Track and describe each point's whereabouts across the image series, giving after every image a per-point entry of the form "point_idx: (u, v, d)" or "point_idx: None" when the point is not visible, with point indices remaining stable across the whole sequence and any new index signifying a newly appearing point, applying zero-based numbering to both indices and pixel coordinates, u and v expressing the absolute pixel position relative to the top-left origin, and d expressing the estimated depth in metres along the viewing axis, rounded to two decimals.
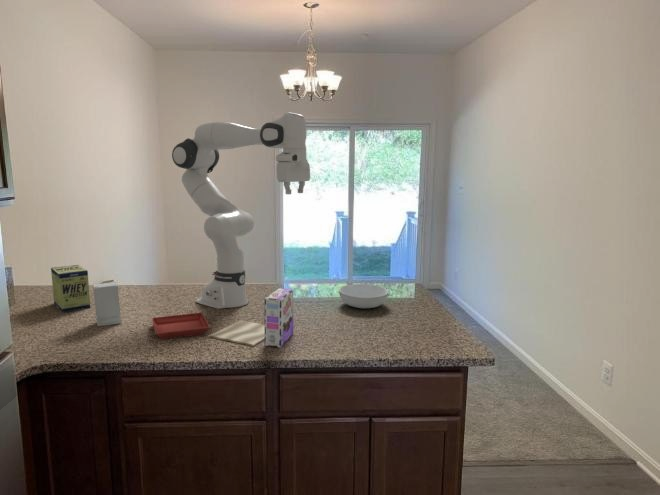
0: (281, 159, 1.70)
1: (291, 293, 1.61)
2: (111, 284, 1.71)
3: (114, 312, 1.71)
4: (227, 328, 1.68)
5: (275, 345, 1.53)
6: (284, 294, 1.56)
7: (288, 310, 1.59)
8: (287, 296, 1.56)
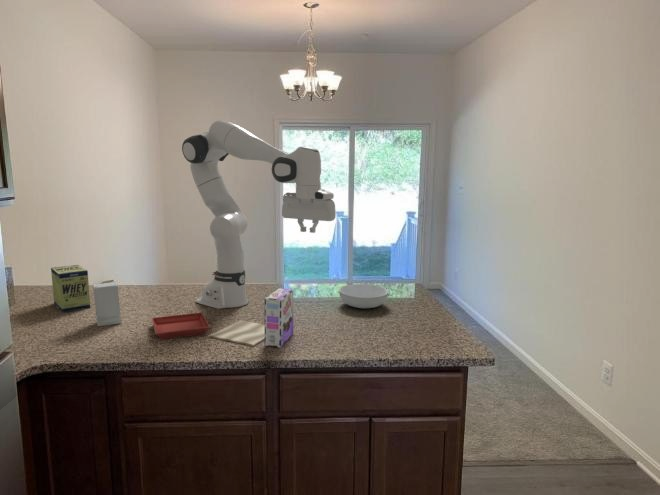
0: (329, 197, 1.62)
1: (291, 293, 1.61)
2: (111, 284, 1.71)
3: (113, 312, 1.71)
4: (227, 328, 1.68)
5: (275, 345, 1.53)
6: (284, 294, 1.56)
7: (288, 310, 1.59)
8: (287, 296, 1.56)
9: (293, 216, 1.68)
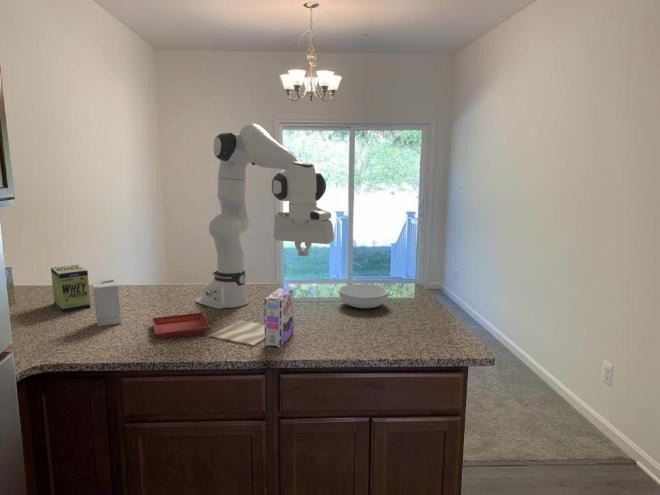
0: (326, 217, 1.45)
1: (291, 293, 1.61)
2: (111, 284, 1.71)
3: (113, 312, 1.71)
4: (227, 328, 1.68)
5: (275, 345, 1.53)
6: (284, 294, 1.56)
7: (288, 310, 1.59)
8: (287, 296, 1.56)
9: (286, 238, 1.51)
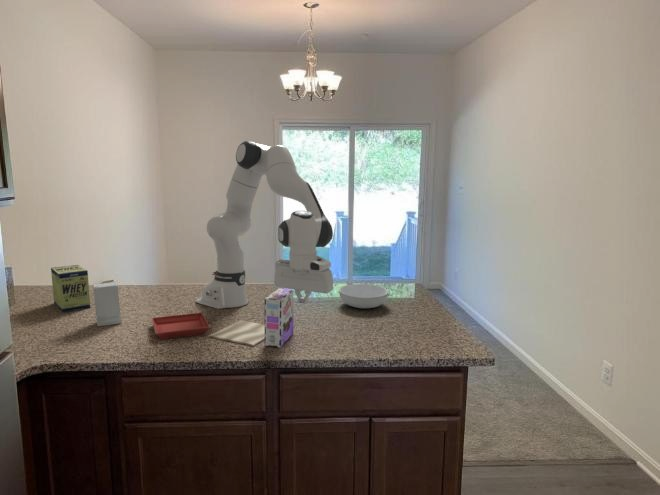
0: (326, 268, 1.48)
1: (291, 293, 1.61)
2: (111, 284, 1.71)
3: (114, 312, 1.71)
4: (227, 328, 1.68)
5: (275, 345, 1.53)
6: (284, 294, 1.56)
7: (288, 310, 1.59)
8: (287, 296, 1.56)
9: (287, 286, 1.53)
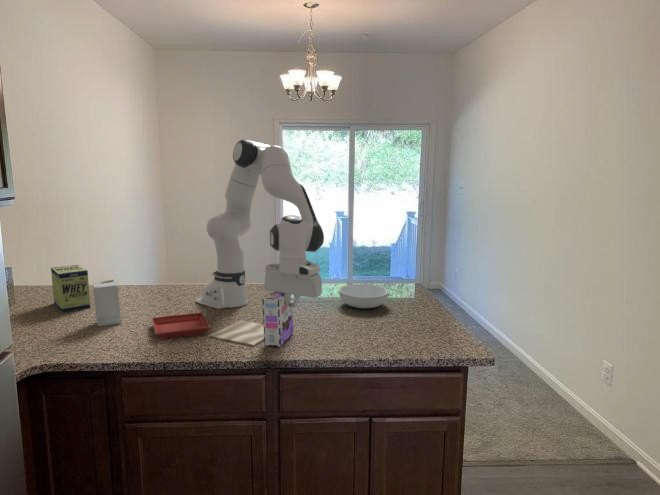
0: (315, 272, 1.49)
1: None
2: (111, 284, 1.71)
3: (113, 312, 1.71)
4: (227, 328, 1.68)
5: (275, 344, 1.53)
6: (282, 293, 1.56)
7: (287, 309, 1.59)
8: None
9: (276, 290, 1.55)
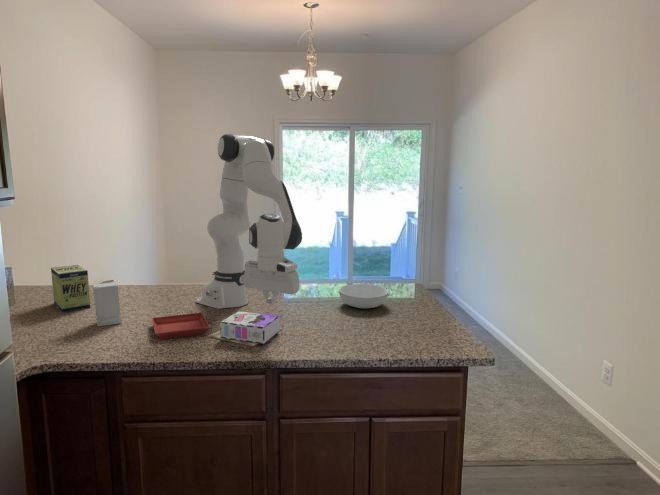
0: (292, 269, 1.53)
1: (237, 312, 1.68)
2: (111, 284, 1.71)
3: (114, 312, 1.71)
4: None
5: (262, 332, 1.53)
6: None
7: (247, 316, 1.63)
8: (231, 316, 1.63)
9: (255, 286, 1.59)
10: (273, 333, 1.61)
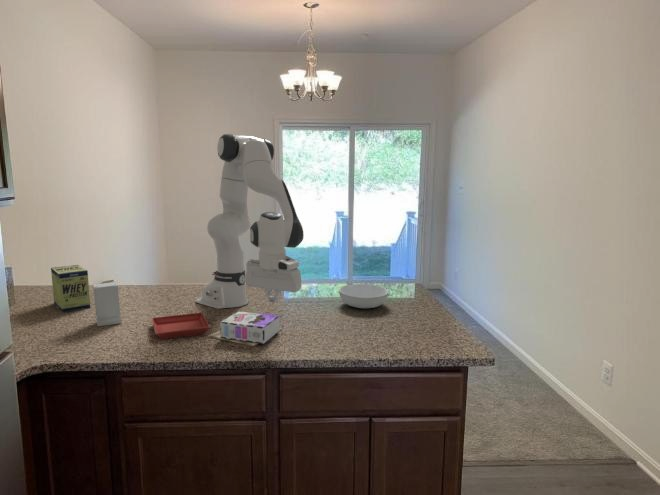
0: (294, 267, 1.52)
1: (237, 312, 1.68)
2: (111, 284, 1.71)
3: (113, 312, 1.71)
4: None
5: (262, 332, 1.53)
6: None
7: (247, 316, 1.63)
8: (231, 316, 1.63)
9: (257, 285, 1.58)
10: (273, 333, 1.61)
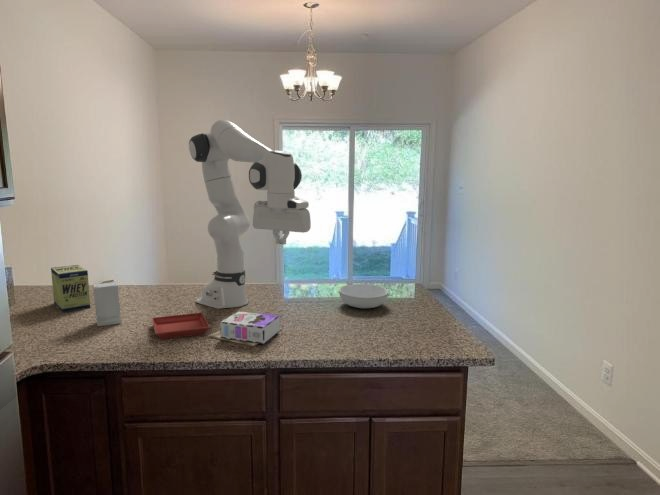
0: (303, 206, 1.47)
1: (237, 312, 1.68)
2: (111, 284, 1.71)
3: (114, 312, 1.71)
4: None
5: (262, 332, 1.53)
6: None
7: (247, 316, 1.63)
8: (231, 316, 1.63)
9: (265, 227, 1.53)
10: (273, 333, 1.61)
